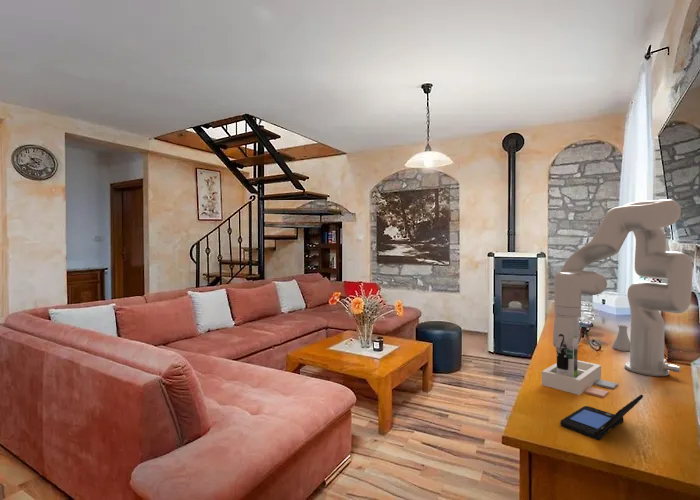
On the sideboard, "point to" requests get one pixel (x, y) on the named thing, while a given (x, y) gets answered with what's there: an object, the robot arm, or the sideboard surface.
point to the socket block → (578, 380)
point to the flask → (622, 339)
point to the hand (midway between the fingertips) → (567, 365)
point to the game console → (596, 420)
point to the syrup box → (571, 360)
